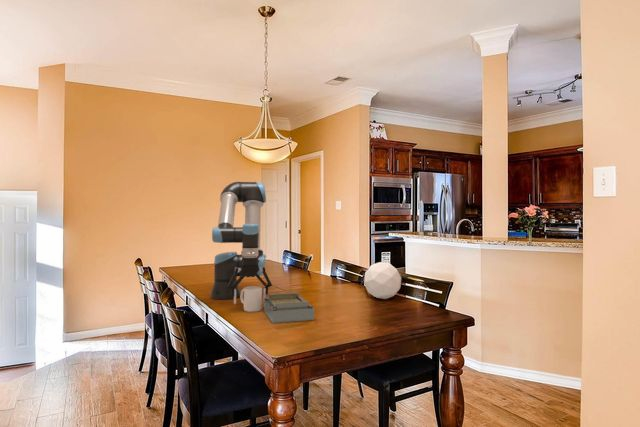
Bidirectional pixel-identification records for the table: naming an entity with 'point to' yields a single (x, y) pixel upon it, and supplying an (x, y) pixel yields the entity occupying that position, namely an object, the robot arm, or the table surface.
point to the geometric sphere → (382, 280)
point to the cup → (252, 298)
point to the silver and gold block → (288, 308)
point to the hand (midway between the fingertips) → (249, 302)
